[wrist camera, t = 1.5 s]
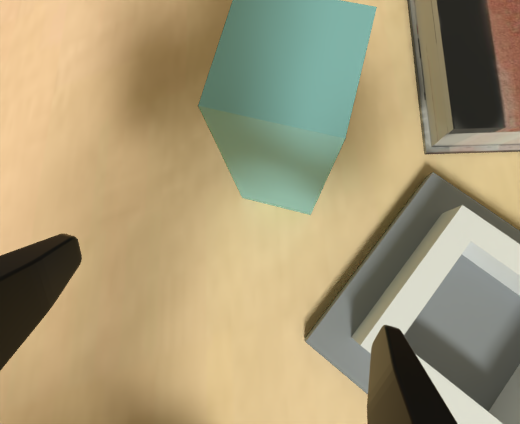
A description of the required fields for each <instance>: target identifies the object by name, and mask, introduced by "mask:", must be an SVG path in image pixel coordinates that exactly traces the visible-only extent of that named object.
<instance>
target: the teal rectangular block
mask: <svg viewBox="0 0 520 424" xmlns="http://www.w3.org/2000/svg"><path fill="white" fill-rule="evenodd" d="M376 8H377V7H374V6H368V5H363V4H357V3H351V2H346V1H340V0H233V1H232V4H231V7H230V10H229V13H228V16H227V19H226V22H225V25H224V29H223V32H222V35H221V38H220V41H219V44H218V47H217V50H216V53H215V56H214V59H213V62H212V65H211V68H210V71H209V74H208V77H207V80H206V83H205V86H204V89H203V92H202V95H201V99H200V102H199V105H198V107H199V109H200V111H201V113H202V115H203V117H204V119H205V121H206V123H207V125H208V127H209V129H210V132H211V134H212V136H213V138H214V140H215V142H216V144H217V146H218V148H219V150H220V152H221V154H222V157H223V159H224V161H225V163H226V165H227V167H228V169H229V171H230V173H231V175H232V177H233V179H234V182H235V184H236V186H237V188H238V190H239V192H240V194H241V196H242V198H245V199H249V200H253V201H257V202H261V203H265V204H269V205H273V206H277V207H281V208H285V209H289V210H293V211H297V212H301V213H305V214H309V215H311V213H312V211H313V208H314V206H315V204H316V202H317V200H318V197H319V195H320V193H321V191H322V189H323V186H324V184H325V182H326V180H327V178H328V175H329V173H330V171H331V169H332V167H333V164H334V162H335V160H336V158H337V156H338V153H339V151H340V149H341V147H342V145H343V143H344V140H345V138H346V134H347V129H348V125H349V121H350V117H351V113H352V108H353V104H354V100H355V96H356V92H357V87H358V83H359V79H360V75H361V71H362V66H363V62H364V58H365V54H366V50H367V45H368V41H369V37H370V33H371V29H372V24H373V20H374V16H375V12H376Z"/></svg>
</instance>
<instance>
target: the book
mask: <svg viewBox="0 0 520 424" xmlns="http://www.w3.org/2000/svg"><path fill="white" fill-rule="evenodd" d="M407 1H408V10H409V19H410V28H411V37H412V46H413V55H414V64H415V73H416V82H417V92H418V101H419V110H420V119H421V128H422V137H423V146H424V154H449V153H484V152H518V151H520V0H407Z"/></svg>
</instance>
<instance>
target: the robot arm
mask: <svg viewBox="0 0 520 424" xmlns="http://www.w3.org/2000/svg"><path fill="white" fill-rule="evenodd" d="M81 260H82V256H81V251H80V247H79V242H78V239H77V238H76V237H74V236H71V235H67V234H59V235H56V236H54V237H51V238H48V239H45V240H43V241H40V242H37V243H34V244H32V245H29V246H26V247H23V248H20V249H18V250H15V251H12V252H9V253H7V254H4V255H1V256H0V370H1V369H2V368H3V367H4V365H5V364H6V363H7V362H8V361H9V359H10V358H11V357H12V356H13V354H14V353H15V352H16V351H17V350H18V348H19V347H20V346H21V345H22V343H23V342H24V341H25V340H26V338H27V337H28V336H29V335H30V334H31V332H32V331H33V330H34V329H35V327H36V326H37V325H38V324H39V322H40V321H41V320H42V319H43V318H44V316H45V315H46V314H47V312H48V311H49V310H50V309H51V307H52V306H53V304H54V303H55V302H56V300H57V299H58V297H59V296H60V294H61V292H62V291H63V289H64V288H65V286H66V285H67V283H68V282H69V280H70V279H71V277H72V276H73V274H74V273H75V271H76V270H77V268H78V267H79V265H80V263H81ZM367 421H368V424H458V423H457V421H456V420H455V418H454V417H453V415H452V413H451V412H450V410H449V408H448V407H447V405H446V403H445V402H444V400H443V398H442V397H441V395H440V394H439V392H438V390H437V389H436V387H435V385H434V384H433V382H432V380H431V379H430V377H429V375H428V374H427V372H426V371H425V369H424V367H423V366H422V364H421V362H420V361H419V359H418V357H417V356H416V354H415V352H414V351H413V349H412V348H411V346H410V344H409V343H408V341H407V339H406V338H405V336H404V334H403V333H402V331H401V330H400V329H399V328H396V327H393V326H389V325H383V326H382V327H381V329H380V331H379V333H378V334H377V336H376V338H375V340H374V341H373V344H372V348H371V359H370V372H369V386H368V401H367Z"/></svg>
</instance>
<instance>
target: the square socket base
mask: <svg viewBox="0 0 520 424" xmlns="http://www.w3.org/2000/svg"><path fill="white" fill-rule="evenodd" d="M383 325H389V326H393V327H396V328H399V329H400V330H401V331H402V333H403V334H404V336H405V338H406V339H407V341H408V343H409V344H410V346H411V348H412V349H413V351H414V352H415V354H416V356H417V357H418V359H419V361H420V362H421V364H422V366H423V367H424V369H425V371H426V372H427V374H428V375H429V377H430V379H431V380H432V382H433V384H434V385H435V387H436V389H437V390H438V392H439V394H440V395H441V397H442V398H443V400H444V402H445V403H446V405H447V407H448V408H449V410H450V412H451V413H452V415H453V417H454V418H455V420H456V421H457V423H458V424H520V231H519V230H518V229H516V228H515V227H513V226H512V225H510V224H509V223H507V222H506V221H504V220H503V219H501V218H500V217H498V216H497V215H496V214H494V213H493V212H491V211H490V210H488V209H487V208H485V207H484V206H482V205H481V204H479V203H478V202H476V201H475V200H473V199H472V198H470V197H469V196H468V195H466V194H465V193H463V192H462V191H460V190H459V189H457V188H456V187H454V186H453V185H451V184H450V183H448V182H447V181H445V180H444V179H442V178H441V177H440V176H438V175H437V174H435V173H434V172H433V173H431V174H430V175H428V176H427V177H426V178H425V180H424V181H423V182H422V184H421V185H420V186H419V188H418V189H417V190H416V192H415V193H414V194H413V196H412V197H411V198H410V200H409V201H408V202H407V204H406V205H405V206H404V208H403V209H402V210H401V212H400V213H399V214H398V216H397V217H396V218H395V220H394V221H393V222H392V224H391V225H390V226H389V227H388V229H387V230H386V231H385V233H384V234H383V235H382V237H381V238H380V239H379V241H378V242H377V243H376V245H375V246H374V247H373V249H372V250H371V251H370V253H369V254H368V255H367V257H366V258H365V259H364V261H363V262H362V263H361V265H360V266H359V267H358V269H357V270H356V271H355V273H354V274H353V275H352V277H351V278H350V279H349V281H348V282H347V283H346V285H345V286H344V287H343V289H342V290H341V291H340V293H339V294H338V295H337V297H336V298H335V299H334V301H333V302H332V303H331V305H330V306H329V307H328V308H327V310H326V311H325V312H324V314H323V315H322V316H321V318H320V319H319V320H318V322H317V323H316V324H315V326H314V327H313V328H312V330H311V331H310V332H309V334H308V335H307V336H306V338H305V342H306V343H307V344H309V345H310V346H311V347H312V348H313V349H315V350H316V351H317V352H318V353H319V354H321V355H322V356H323V357H324V358H325V359H326V360H328V361H329V362H330V363H331V364H332V365H334V366H335V367H336V368H337V369H338V370H339V371H341V372H342V373H343V374H344V375H345V376H347V377H348V378H349V379H350V380H351V381H353V382H354V383H355V384H356V385H357V386H358V387H360V388H361V389H362V390H363V391H364V392H366V393H367V394H368V386H369V372H370V359H371V348H372V344H373V341H374V340H375V338H376V336H377V334H378V333H379V331H380V329H381V327H382V326H383Z"/></svg>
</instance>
